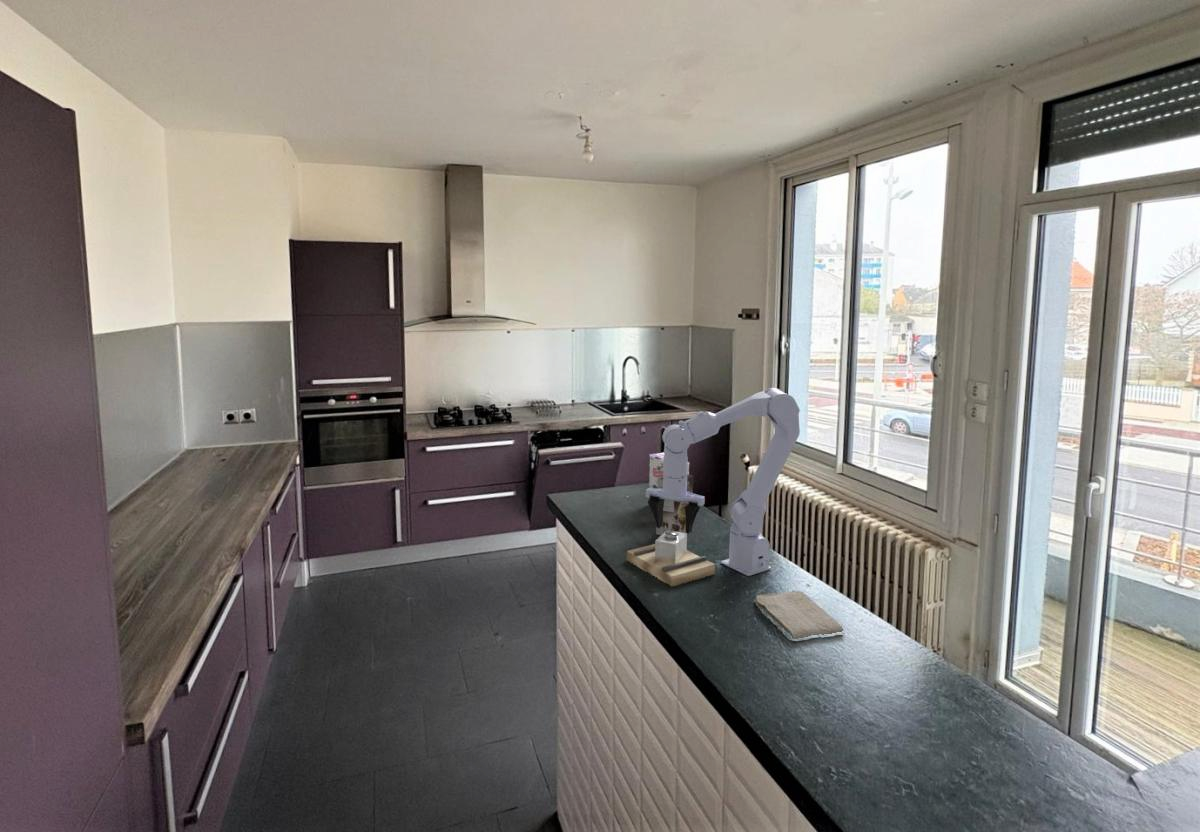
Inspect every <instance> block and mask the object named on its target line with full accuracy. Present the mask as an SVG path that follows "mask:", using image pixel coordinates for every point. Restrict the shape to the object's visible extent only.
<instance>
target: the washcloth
mask: <svg viewBox="0 0 1200 832" xmlns="http://www.w3.org/2000/svg"><path fill="white" fill-rule="evenodd" d="M754 602H755V603H756V604H755V603H754ZM753 603H754V604H755V606H757V605H758V606H759V607H760V608H762V609H763V610H764V611H765V612H766V613H767V614H768V615H769V616H770V617H772V619H773V620H774V621H775V622H777V623H778V624H779V626H780V627H782V628H784V630H785V631H787V632H788V633H790V635H791V636H792V638H793V639H798V638H804V637H808V636H811V635H819V634H822V635H824V634H832V633H836V632H842V631H844V627H842V625H841V624H840V623H839V622H837V620H836V619H834V618H833V617H832V616H830V614H828V613H827V611H825V609H824V608H822V607H820V605H818V604H817V603H816V602H815V601H813V600H812V599H811V598H810V597H809V596H808V595H807V594H806V593H804V591H801V590H792V591H789V592H783V593H782V592H781V593H766V594H761V595H760V594H759V595H756V596H755V599H754V600H753Z"/></svg>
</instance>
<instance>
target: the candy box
mask: <svg viewBox="0 0 1200 832" xmlns="http://www.w3.org/2000/svg"><path fill="white" fill-rule="evenodd" d="M648 455H649V457H648V458H649V464H648V465H649V467H648V473H649V474H648V488H657V489H658V478H661V477H663V461H664V451H663V452H657V453H651V454H650V453H649V454H648ZM690 464H691V463H690V462H689V461H688V463H687V474H688V475H690ZM648 500H650V498H648Z"/></svg>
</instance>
